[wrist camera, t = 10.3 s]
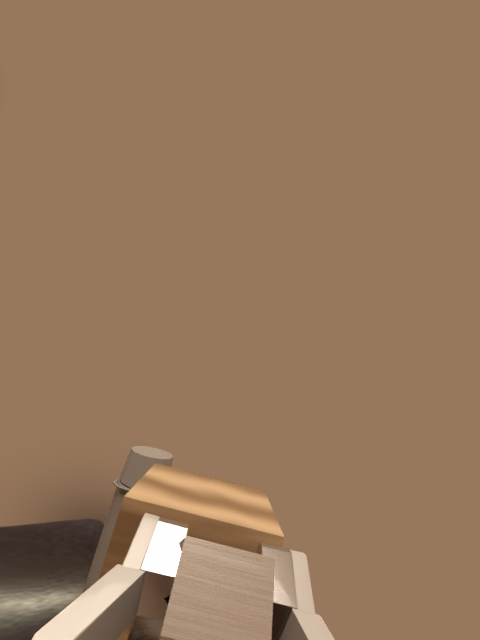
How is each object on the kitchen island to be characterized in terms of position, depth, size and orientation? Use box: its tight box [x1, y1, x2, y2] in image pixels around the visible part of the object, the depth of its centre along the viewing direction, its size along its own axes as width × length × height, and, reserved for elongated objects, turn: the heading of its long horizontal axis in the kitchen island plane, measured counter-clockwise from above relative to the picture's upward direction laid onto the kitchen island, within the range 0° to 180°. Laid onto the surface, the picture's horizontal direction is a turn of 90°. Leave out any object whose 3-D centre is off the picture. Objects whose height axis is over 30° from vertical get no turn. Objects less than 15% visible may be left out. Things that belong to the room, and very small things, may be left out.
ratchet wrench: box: [127, 536, 275, 640], centre depth 14 cm, size 20×6×4 cm
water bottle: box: [83, 446, 173, 593], centre depth 42 cm, size 9×8×25 cm
